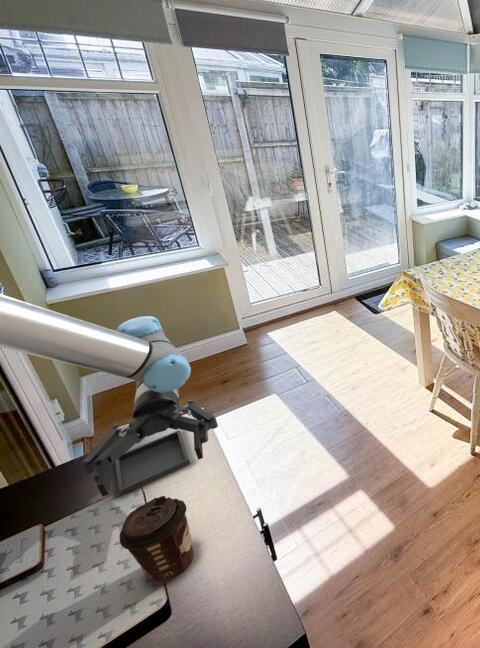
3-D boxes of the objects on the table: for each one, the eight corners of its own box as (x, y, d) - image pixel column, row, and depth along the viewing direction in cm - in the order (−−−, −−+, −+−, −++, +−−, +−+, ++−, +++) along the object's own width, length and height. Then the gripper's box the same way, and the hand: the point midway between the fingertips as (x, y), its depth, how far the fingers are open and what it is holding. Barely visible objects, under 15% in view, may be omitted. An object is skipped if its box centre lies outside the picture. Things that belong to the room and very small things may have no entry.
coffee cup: (189, 531, 78) (169, 483, 73) (212, 555, 74) (193, 506, 69) (133, 573, 71) (106, 523, 66) (155, 602, 67) (128, 552, 62)
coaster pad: (121, 497, 84) (118, 491, 83) (116, 462, 92) (114, 456, 91) (191, 465, 92) (188, 459, 91) (181, 435, 99) (179, 429, 98)
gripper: (228, 394, 98) (238, 454, 83) (85, 441, 85) (65, 523, 69) (220, 369, 95) (228, 426, 80) (71, 413, 82) (46, 492, 66)
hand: (153, 471), depth 75 cm, fingers open, 13 cm apart
